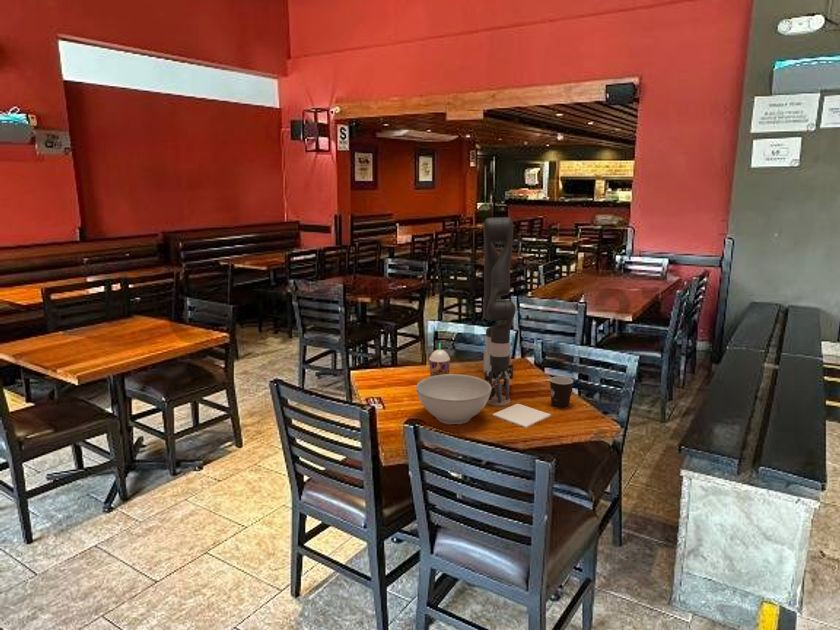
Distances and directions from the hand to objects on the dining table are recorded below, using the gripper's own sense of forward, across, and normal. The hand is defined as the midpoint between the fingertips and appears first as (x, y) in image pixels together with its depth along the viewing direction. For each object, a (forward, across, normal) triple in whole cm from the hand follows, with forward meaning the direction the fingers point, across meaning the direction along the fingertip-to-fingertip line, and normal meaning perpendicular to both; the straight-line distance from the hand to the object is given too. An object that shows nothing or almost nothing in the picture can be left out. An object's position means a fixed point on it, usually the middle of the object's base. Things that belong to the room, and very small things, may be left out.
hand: (498, 393), depth 228 cm
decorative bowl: (+4, +23, -2) cm, 23 cm away
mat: (+4, +4, +14) cm, 15 cm away
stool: (+4, 0, 0) cm, 4 cm away
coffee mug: (+4, -16, +17) cm, 24 cm away
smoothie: (+4, +7, -25) cm, 26 cm away
